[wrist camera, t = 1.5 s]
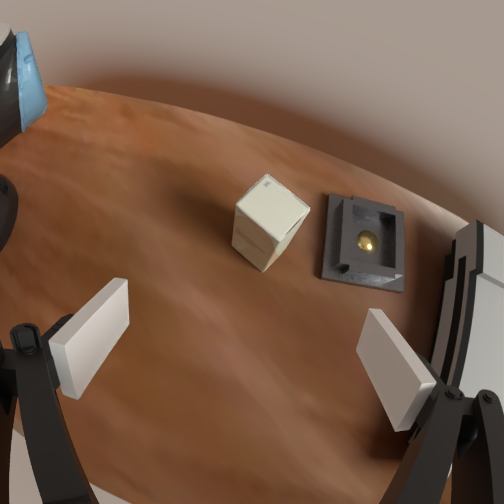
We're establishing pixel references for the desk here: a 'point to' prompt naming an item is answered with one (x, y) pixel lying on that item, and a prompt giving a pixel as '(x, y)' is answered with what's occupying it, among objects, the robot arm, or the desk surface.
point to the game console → (472, 315)
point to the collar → (363, 244)
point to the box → (266, 221)
